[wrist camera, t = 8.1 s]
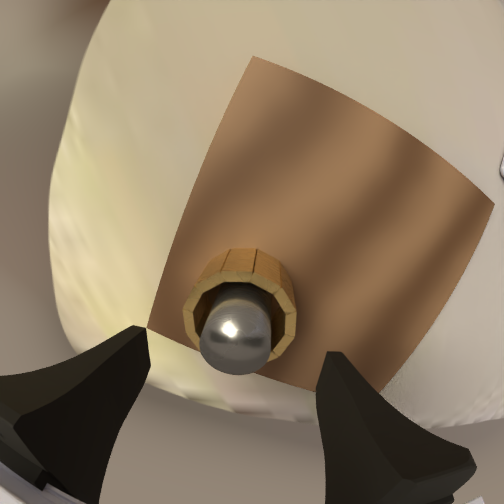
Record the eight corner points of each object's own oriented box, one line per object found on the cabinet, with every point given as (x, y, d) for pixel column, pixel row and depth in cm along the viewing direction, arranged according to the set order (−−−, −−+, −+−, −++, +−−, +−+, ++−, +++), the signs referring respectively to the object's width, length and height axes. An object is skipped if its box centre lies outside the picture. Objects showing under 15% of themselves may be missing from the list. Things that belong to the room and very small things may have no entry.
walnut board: (486, 201, 15) (494, 203, 14) (365, 396, 20) (367, 405, 19) (253, 61, 14) (252, 55, 13) (151, 320, 19) (146, 327, 18)
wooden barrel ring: (309, 277, 16) (318, 306, 13) (262, 344, 18) (259, 380, 14) (225, 230, 16) (213, 249, 12) (186, 305, 17) (168, 336, 14)
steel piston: (280, 281, 16) (283, 335, 11) (258, 321, 17) (252, 383, 12) (231, 260, 16) (213, 307, 11) (213, 302, 17) (190, 359, 12)
